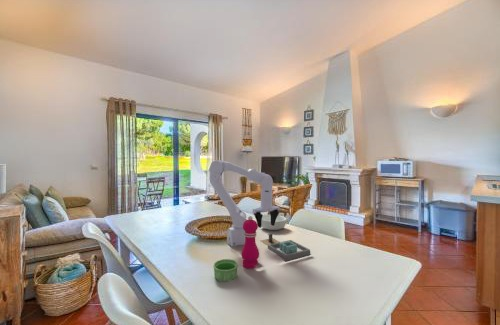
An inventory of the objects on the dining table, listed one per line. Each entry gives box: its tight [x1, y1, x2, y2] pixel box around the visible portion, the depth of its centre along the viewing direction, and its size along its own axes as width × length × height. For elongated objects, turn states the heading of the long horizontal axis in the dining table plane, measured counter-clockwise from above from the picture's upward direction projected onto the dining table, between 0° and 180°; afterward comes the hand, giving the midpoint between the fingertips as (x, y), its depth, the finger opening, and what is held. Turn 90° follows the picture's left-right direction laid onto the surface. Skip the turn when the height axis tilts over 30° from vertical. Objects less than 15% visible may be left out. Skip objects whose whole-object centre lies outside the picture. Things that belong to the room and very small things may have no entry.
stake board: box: [259, 233, 280, 247], centre depth 116 cm, size 8×8×5 cm
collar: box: [279, 240, 298, 255], centre depth 105 cm, size 6×7×4 cm
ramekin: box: [212, 258, 239, 282], centre depth 85 cm, size 9×9×4 cm
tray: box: [267, 239, 311, 263], centre depth 105 cm, size 14×14×3 cm
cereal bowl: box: [261, 214, 287, 231], centre depth 140 cm, size 17×17×7 cm
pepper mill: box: [240, 215, 260, 270], centre depth 93 cm, size 7×7×20 cm
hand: (266, 226), depth 115 cm, fingers open, 7 cm apart
